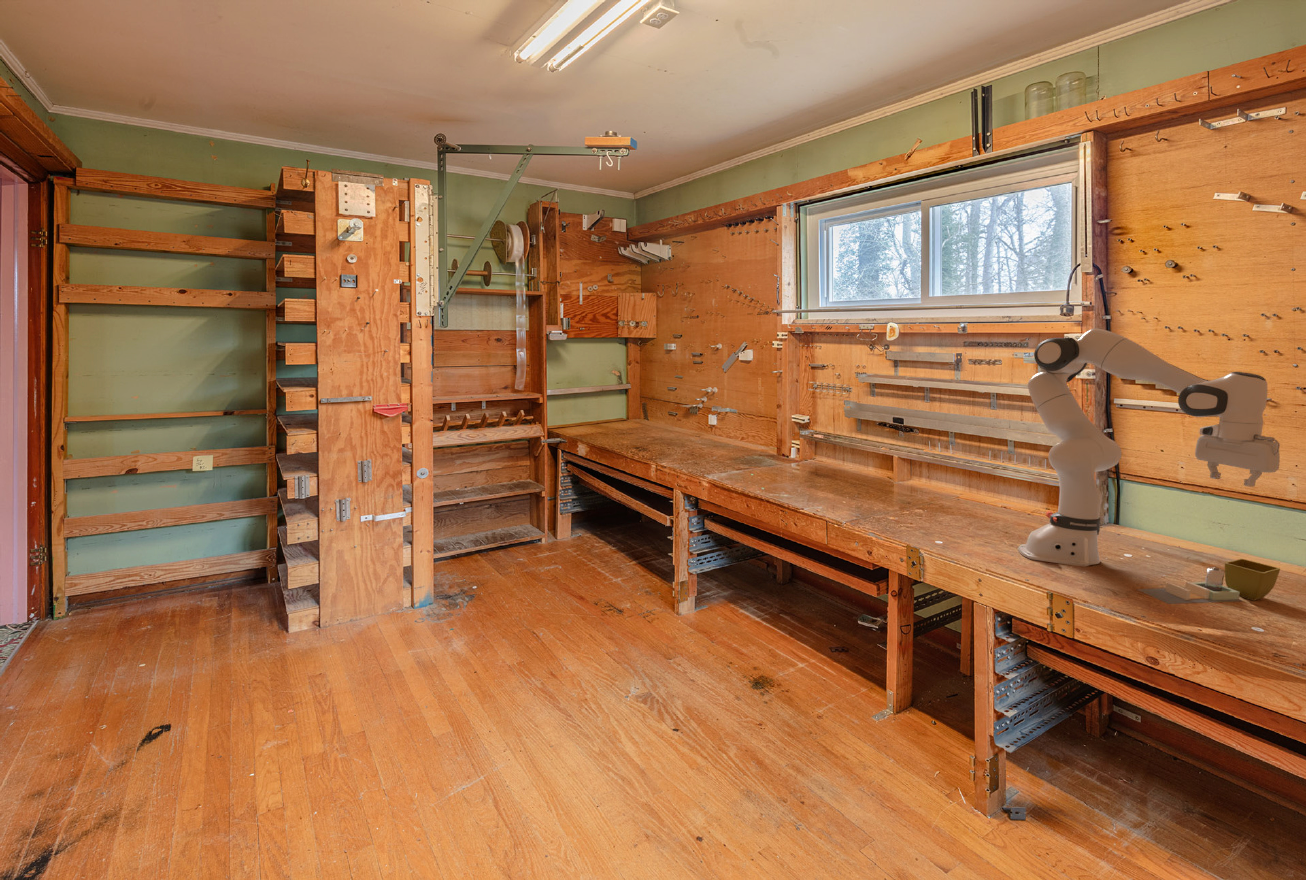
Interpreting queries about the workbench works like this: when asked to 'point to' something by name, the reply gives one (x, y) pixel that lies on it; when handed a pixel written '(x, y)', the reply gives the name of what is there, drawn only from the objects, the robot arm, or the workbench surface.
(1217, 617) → the workbench surface
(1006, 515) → the workbench surface
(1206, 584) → the cell
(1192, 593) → the cradle
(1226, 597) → the pale green flat frame
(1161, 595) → the board
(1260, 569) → the flower pot
